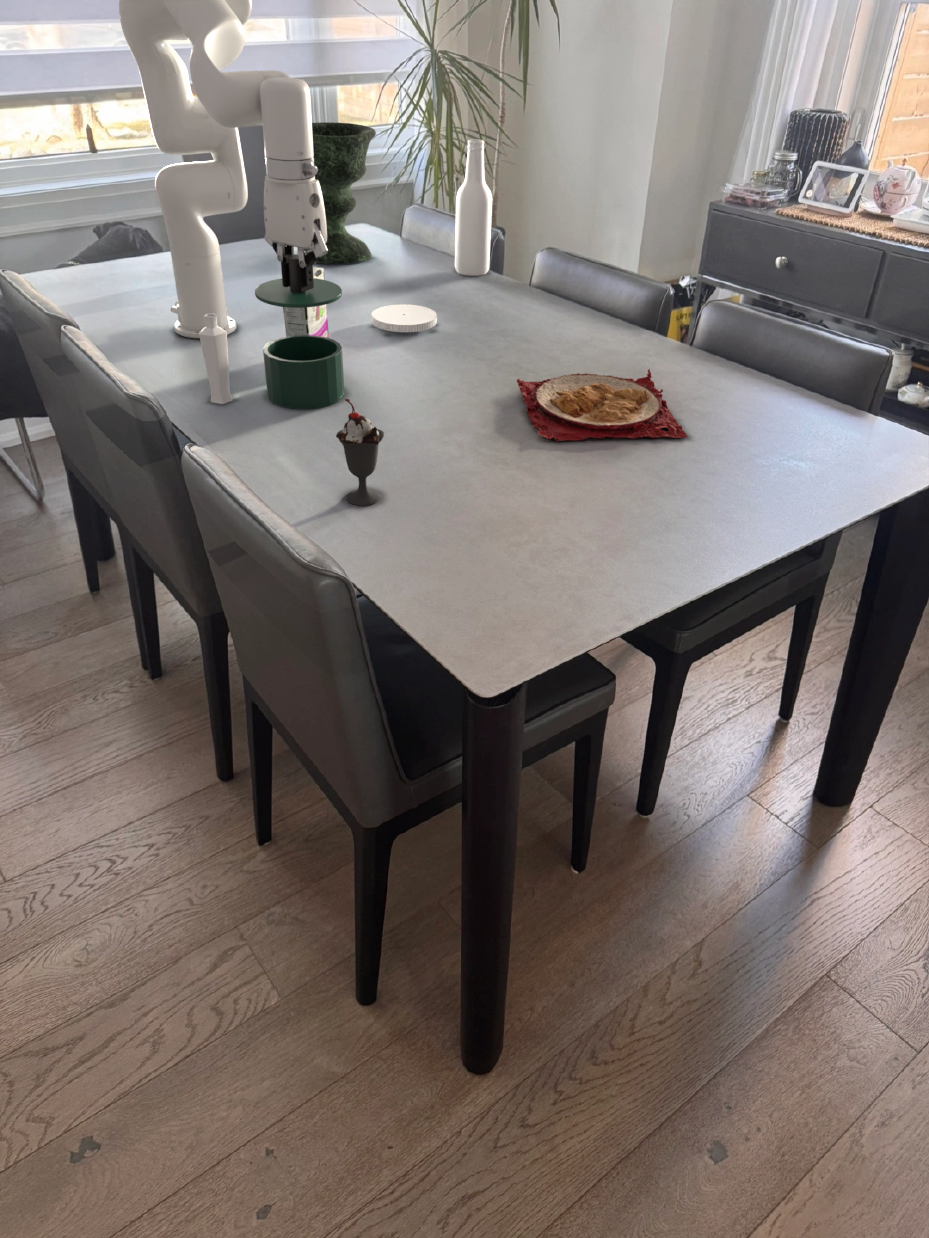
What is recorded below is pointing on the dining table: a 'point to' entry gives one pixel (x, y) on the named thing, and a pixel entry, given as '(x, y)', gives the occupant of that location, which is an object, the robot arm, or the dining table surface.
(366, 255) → the goblet
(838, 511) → the dining table surface
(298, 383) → the tin
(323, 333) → the candy bar box
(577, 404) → the plate with food
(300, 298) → the lid
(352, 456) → the sundae
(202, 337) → the perfume bottle
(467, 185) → the alcohol
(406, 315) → the plastic lid
